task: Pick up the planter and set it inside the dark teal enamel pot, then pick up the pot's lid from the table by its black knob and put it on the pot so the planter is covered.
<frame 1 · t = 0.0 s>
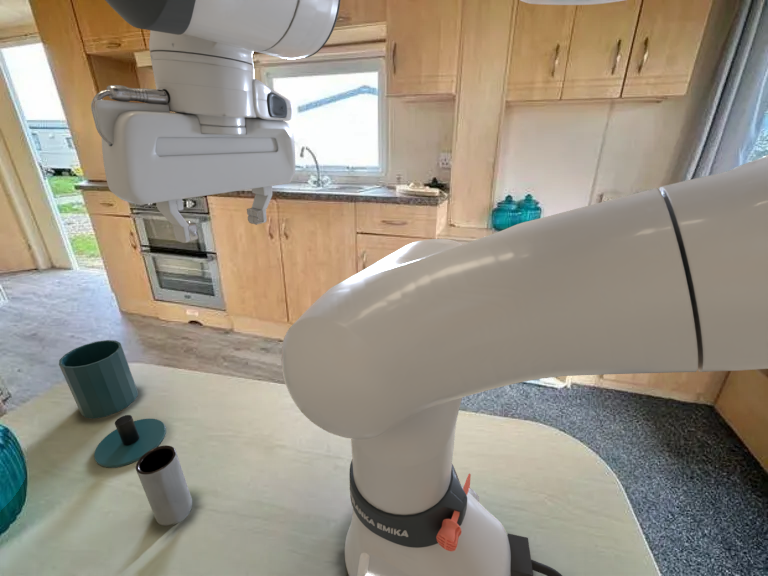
hand: (225, 230, 40), 39 cm above the table, tool pointing down, fingers open, 8 cm apart
lid: (132, 442, 60), point 1 cm above the table
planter: (175, 512, 50), on the table
pot: (111, 403, 70), on the table
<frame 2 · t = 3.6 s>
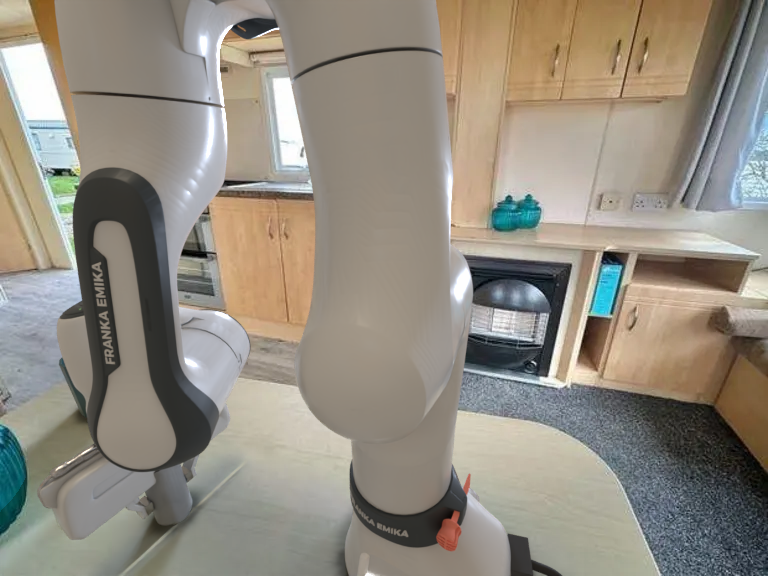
hand: (169, 493, 48), 4 cm above the table, tool pointing down, fingers closed on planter, 4 cm apart
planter: (175, 512, 50), on the table, touching gripper
everything else where it was.
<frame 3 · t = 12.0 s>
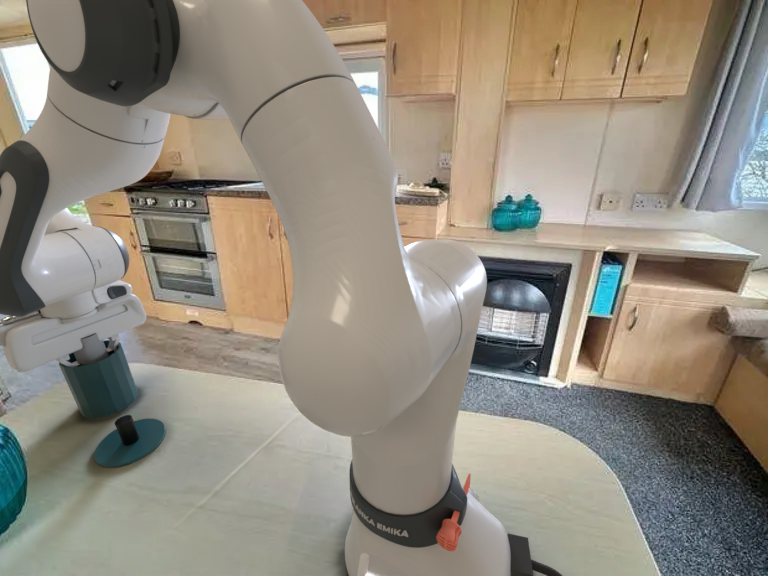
hand: (96, 364, 66), 10 cm above the table, tool pointing down, fingers closed on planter, 4 cm apart
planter: (102, 380, 68), point 6 cm above the table, touching gripper
everything else where it was.
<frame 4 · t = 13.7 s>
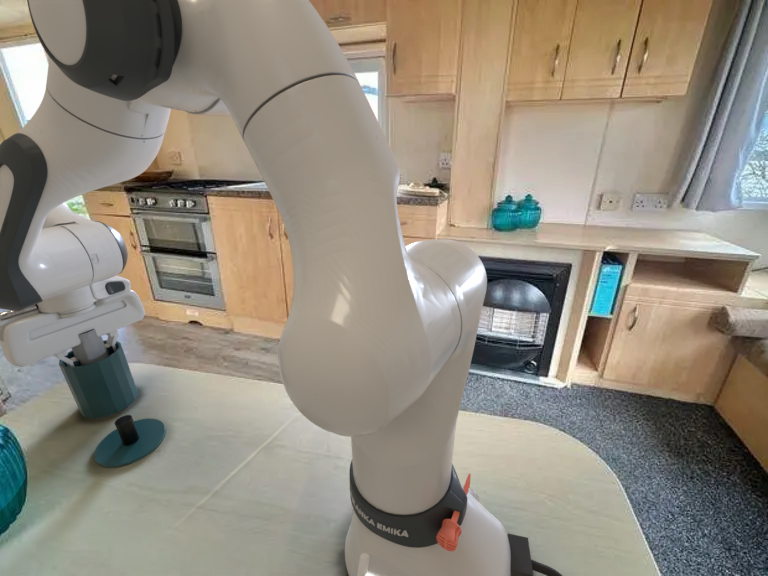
hand: (94, 360, 66), 10 cm above the table, tool pointing down, fingers closed on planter, 4 cm apart
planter: (100, 376, 67), point 7 cm above the table, touching gripper
everything else where it was.
when the fingers open (12 cm above the table, at t = 24.1 s): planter drops 8 cm, resting on pot.
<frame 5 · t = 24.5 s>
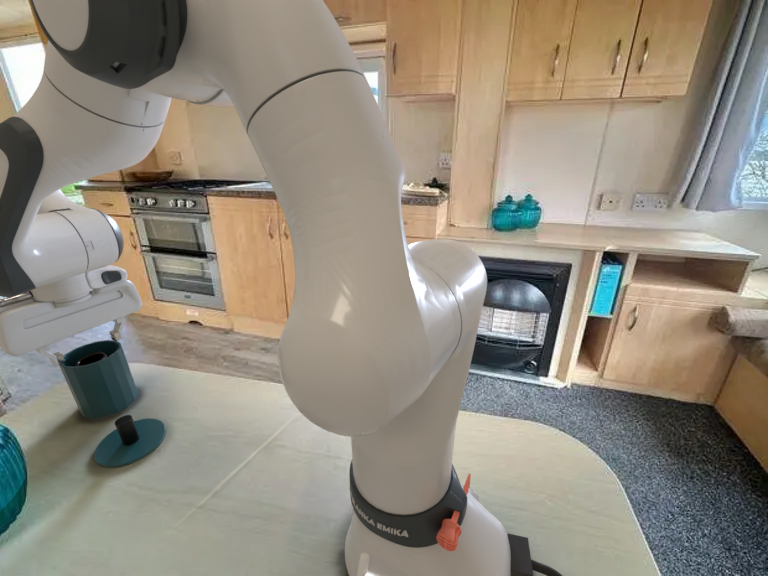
hand: (90, 350, 65), 13 cm above the table, tool pointing down, fingers open, 8 cm apart
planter: (112, 401, 70), resting on pot
everything else where it was.
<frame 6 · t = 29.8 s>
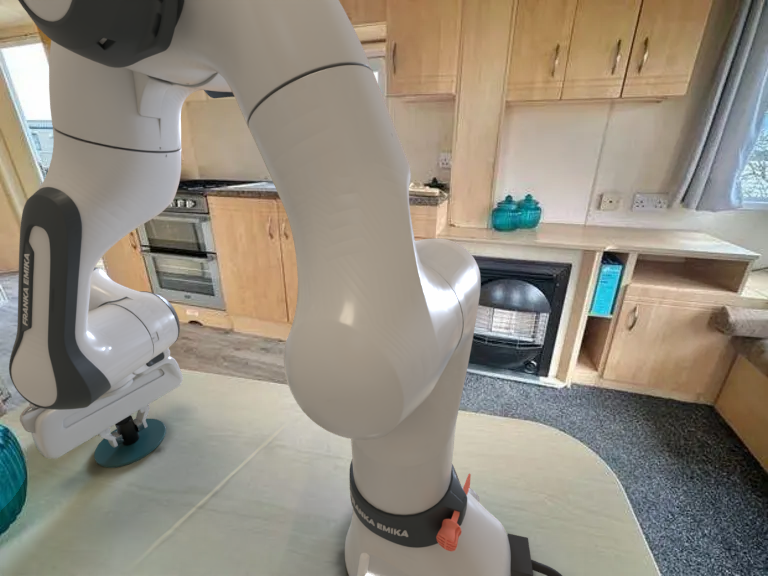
hand: (129, 435, 60), 2 cm above the table, tool pointing down, fingers closed on lid, 2 cm apart
lid: (132, 442, 60), point 1 cm above the table, touching gripper
everything else where it was.
when the fingers open (13 cm above the table, at t = 36.5 s): lid stays where it is, resting on pot.
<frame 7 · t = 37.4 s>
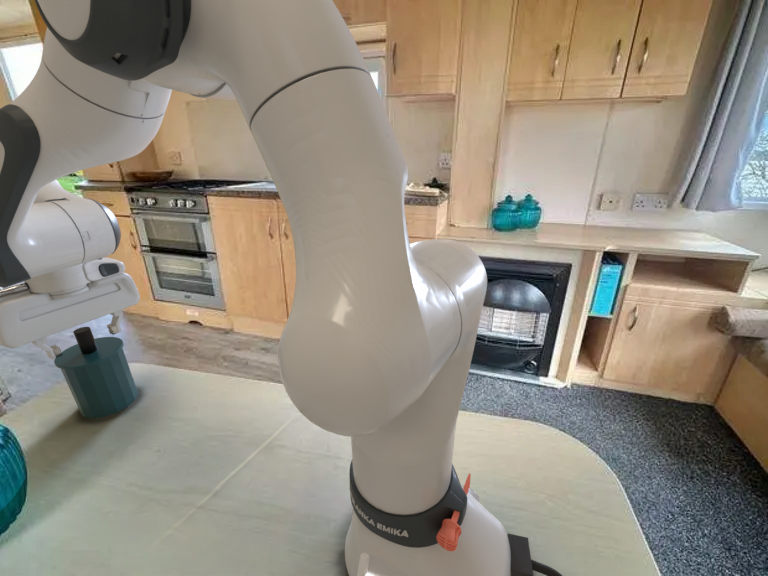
hand: (87, 344, 65), 14 cm above the table, tool pointing down, fingers open, 8 cm apart
lid: (90, 353, 65), point 12 cm above the table, touching pot
everything else where it was.
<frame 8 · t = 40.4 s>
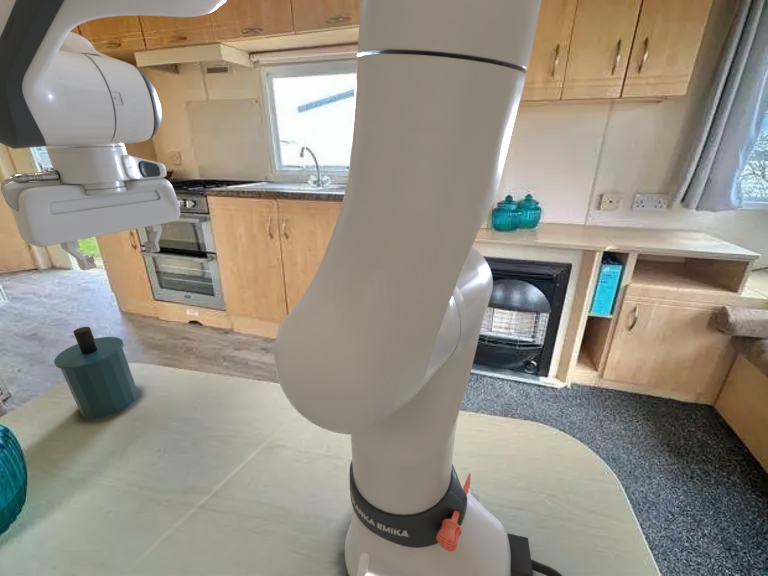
hand: (123, 259, 56), 31 cm above the table, tool pointing down, fingers open, 8 cm apart
nothing on the table moved.
at the end: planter 0.2 cm off-centre in the pot, point 0.3 cm above the pot's base; lid 0.0 cm off-centre on the pot, point 12.0 cm above the pot's base; lid tilted 0° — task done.
